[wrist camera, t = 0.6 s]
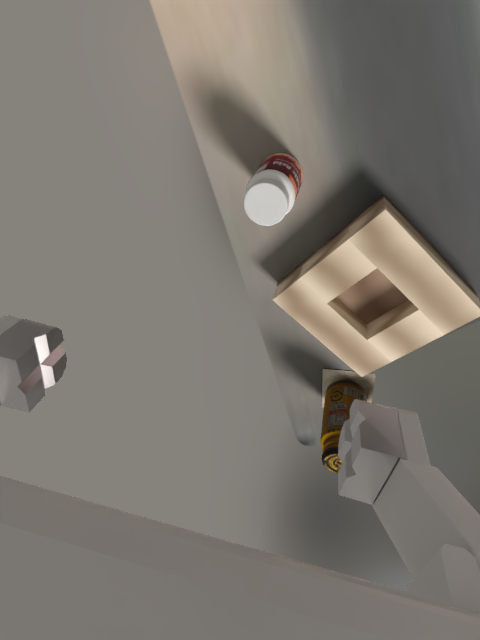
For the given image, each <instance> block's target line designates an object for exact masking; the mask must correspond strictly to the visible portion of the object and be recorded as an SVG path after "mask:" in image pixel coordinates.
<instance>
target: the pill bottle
mask: <svg viewBox="0 0 480 640" xmlns="http://www.w3.org/2000/svg"><path fill="white" fill-rule="evenodd" d="M302 179H303V173H302V168H301V166H300V164H299V163H298V161H297V160H296V159H295V158H293V157H292V156H290V155H288V154H285V153H277V154H273V155H271V156H269V157H268V158H266V159H265V160H264V161H263V163H262V164H261V165H260V167H259V168H258V170H257V171H256V172H255V174H254V175H253V177H252V178H251V179H250V181H249V182H248V185H247V188H246V195H245V198H244V208H245V211H246V213H247V215H248V217H249V218H250V219H251V220H252V221H254V222H255V223H257V224H259V225H263V226H271V225H274V224H276V223H278V222H280V221H281V220H282V219H283V218H284V216H285V215H286V214H287V213H288V212H289V211H290V210H291V209H292V207H293V205H294V203H295V199H296V197H297V194H298V192H299V189H300V187H301V184H302Z"/></svg>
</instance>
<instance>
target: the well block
mask: <svg viewBox="0 0 480 640" xmlns="http://www.w3.org/2000/svg"><path fill="white" fill-rule="evenodd" d="M273 301H274V302H276V303H277V304H278V305H279V306H280V307H281V308H282V309H284V310H285V311H286V312H287V313H288V314H289V315H291V316H292V317H293V318H294V319H295V320H296V321H297V322H299V323H300V324H301V325H302V326H303V327H304V328H306V329H307V330H308V331H309V332H310V333H311V334H312V335H314V336H315V337H316V338H317V339H318V340H319V341H321V342H322V343H323V344H324V345H325V346H326V347H327V348H329V349H330V350H331V351H332V352H333V353H334V354H336V355H337V356H338V357H339V358H340V359H341V360H342V361H344V362H345V363H346V364H347V365H348V366H349V367H351V368H352V369H353V370H354V371H355V372H356V373H357V374H359V375H360V376H361V377H363V376H365V375H367V374H369V373H371V372H372V371H374V370H377V369H378V368H380V367H382V366H384V365H386V364H388V363H390V362H392V361H394V360H396V359H398V358H400V357H402V356H404V355H406V354H408V353H410V352H411V351H413V350H415V349H417V348H419V347H421V346H423V345H425V344H427V343H429V342H431V341H433V340H435V339H437V338H439V337H441V336H443V335H445V334H447V333H449V332H450V331H452V330H454V329H456V328H458V327H460V326H462V325H464V324H466V323H468V322H470V321H472V320H474V319H476V318H478V317H480V301H479V299H478V296H477V294H476V293H475V292H474V291H473V290H472V289H471V288H470V286H469V285H468V284H467V283H466V282H465V281H464V280H463V279H462V278H461V277H460V276H459V275H458V274H457V273H456V271H455V270H454V269H453V268H452V267H451V266H450V265H449V264H448V263H447V262H446V261H445V260H444V259H443V258H442V257H441V255H440V254H439V253H438V252H437V251H436V250H435V249H434V248H433V247H432V246H431V245H430V244H429V243H428V242H427V241H426V239H425V238H424V237H423V236H422V235H421V234H420V233H419V232H418V231H417V230H416V229H415V228H414V227H413V226H412V224H411V223H410V222H409V221H408V220H407V219H406V218H405V217H404V216H403V215H402V214H401V213H400V212H399V211H398V210H397V208H396V207H395V206H394V205H393V204H392V203H391V202H390V201H389V200H388V199H387V198H386V197H385V196H384V195H383V196H382V197H381V198H380V199H379V200H377V201H376V202H375V203H374V204H373V205H371V206H370V207H369V208H368V209H367V210H365V211H364V212H363V213H362V214H361V215H359V216H358V217H357V218H356V219H355V220H353V221H352V222H351V223H350V224H349V225H347V226H346V227H345V228H344V229H343V230H341V231H340V232H339V233H338V234H336V235H335V236H334V237H333V238H332V239H330V240H329V241H328V242H327V243H326V244H324V245H323V246H322V247H321V248H320V249H318V250H317V251H316V252H315V253H314V254H312V255H311V256H310V257H309V258H308V259H306V260H305V261H304V262H303V263H302V264H300V265H299V266H298V267H297V268H296V269H294V270H293V271H292V272H291V273H290V274H288V275H287V276H286V277H285V278H284V279H282V280H281V281H280V282H279V283H278V285H277V288H276V291H275V294H274V297H273Z"/></svg>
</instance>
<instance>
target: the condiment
mask: <svg viewBox="0 0 480 640" xmlns="http://www.w3.org/2000/svg"><path fill="white" fill-rule="evenodd" d="M337 379H338V380H337ZM322 380H323V381H322V407H324V411H323V412H324V413H323V421H322V422H323V423H322V433H321V445H322V447H323V448H322V453H323V454H322V462H323V465H324V466H325V467H326V468H327V469H328V470H330V471H332V472H334V473H337V474H338V471H339V469H340V466H341V464H342V461H341V460H340V458H339V457H338V446H339V438H340V434H341V430H342V427H343V424H344V422H345V421H346V420H348V419H350V407H351V405H352V403H353V401H354V400H355V399H358V400H362V401H366V402H371V403H372V396H373V388H374V381H375V374H367V375H365V376H363V377H361V376H360V375H359V374H357V373H356V372H353V371H345V370H329V369H323V379H322Z"/></svg>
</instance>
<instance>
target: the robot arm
mask: <svg viewBox="0 0 480 640" xmlns="http://www.w3.org/2000/svg"><path fill="white" fill-rule="evenodd" d="M63 341H64V339H63V334H62V330H60V329H59V328H57V327H53V326H49V325H46V324H42V323H38V322H34V321H30V320H27V319H21V318H17V317H14V316H10V315H9V316H3V317H2V318H0V406H4V407H8V408H12V409H17V410H21V411H25V412H31V410H32V409H33V408H34V407H35V406H36V405H37V404H38V403H39V402H40V401H41V399H42V398H43V397H44V396H45V388H48V387H50V386H52V385H55V384H56V383H57V382H58V381H59V379H60V378H61V377H62V375H63V373H64V370H65V368H66V362H67V357H66V352H65V351H64V350H63V349H62V347H61V346H60V344H61V343H62V342H63ZM338 457H339V458H340V460H341V461H342V464H341V466H340V469H339V471H338V477H339V478H338V479H339V495H341V496H344V497H348V498H351V499H355V500H358V501H361V502H365V503H368V504H372V505H373V508H374V510H375V511H376V513H377V515H378V517H379V519H380V520H381V522H382V524H383V526H384V527H385V529H386V531H387V533H388V535H389V537H390V538H391V540H392V542H393V544H394V545H395V547H396V549H397V551H398V552H399V554H400V556H401V558H402V559H403V561H404V563H405V565H406V567H407V569H408V570H409V572H410V574H411V576H412V577H413V579H414V580H413V581H412V582H411V583H410V584H409V585H408V587H407V588H406V589H405V590H404V591H401V590H397V589H394V588H390V587H387V586H383V585H380V584H376V583H373V582H369V581H366V580H362V579H359V578H355V577H352V576H348V575H345V574H341V573H338V572H335V571H331V570H328V569H324V568H320V567H317V566H313V565H310V564H307V563H303V562H299V561H296V560H292V559H289V558H286V557H282V556H278V555H275V554H272V553H268V552H265V551H261V550H258V549H254V548H251V547H247V546H244V545H240V544H237V543H233V542H230V541H226V540H222V539H219V538H215V537H212V536H209V535H205V534H202V533H198V532H195V531H191V530H187V529H184V528H180V527H177V526H174V525H170V524H167V523H163V522H159V521H156V520H152V519H149V518H146V517H142V516H139V515H135V514H132V513H128V512H125V511H121V510H118V509H114V508H111V507H107V506H104V505H100V504H97V503H93V502H90V501H86V500H83V499H79V498H76V497H72V496H69V495H65V494H62V493H58V492H55V491H51V490H48V489H44V488H41V487H37V486H34V485H31V484H27V483H23V482H20V481H16V480H13V479H10V478H6V477H3V476H0V640H480V515H479V514H478V513H477V512H476V510H475V509H474V508H473V507H472V506H471V505H470V504H469V503H468V502H467V500H466V499H465V498H464V497H463V496H462V495H461V494H460V493H459V492H458V491H457V490H456V488H455V487H454V486H453V485H452V484H451V483H450V482H449V480H448V479H447V478H446V477H445V476H444V475H443V474H442V473H441V472H440V470H439V469H438V468H436V467H432V466H431V465H430V461H429V457H428V453H427V449H426V445H425V441H424V437H423V434H422V430H421V426H420V422H419V418H418V415H417V414H416V413H415V412H412V411H407V410H403V409H398V408H392V407H388V406H383V405H379V404H375V403H371V402H366V401H362V400H358V399H355V400H354V401H353V403H352V405H351V407H350V419H348V420H346V421H345V422H344V424H343V427H342V430H341V434H340V438H339V446H338Z"/></svg>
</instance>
